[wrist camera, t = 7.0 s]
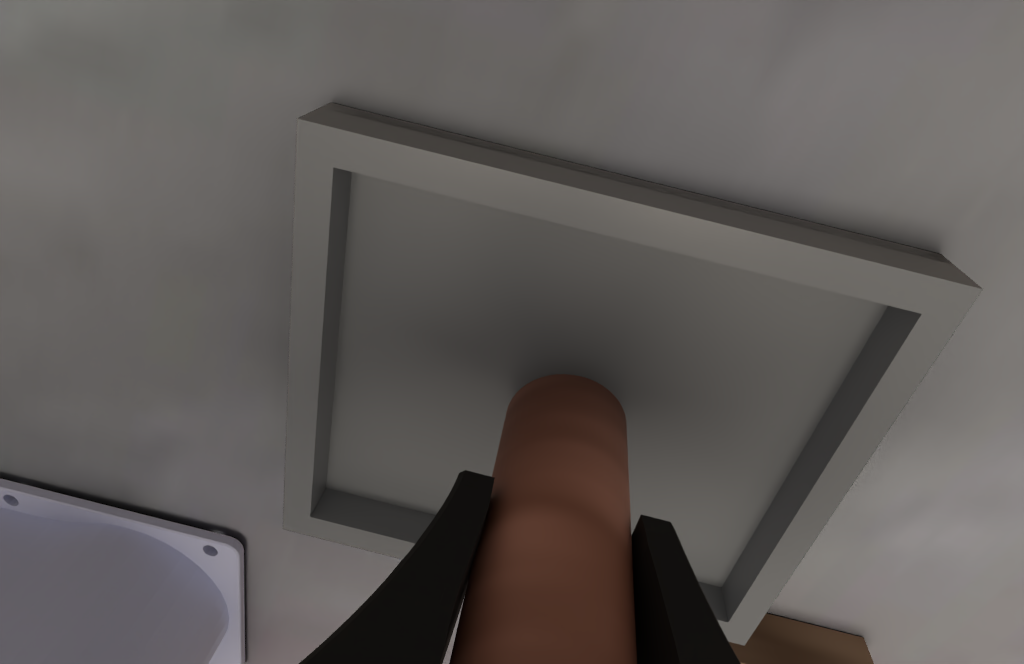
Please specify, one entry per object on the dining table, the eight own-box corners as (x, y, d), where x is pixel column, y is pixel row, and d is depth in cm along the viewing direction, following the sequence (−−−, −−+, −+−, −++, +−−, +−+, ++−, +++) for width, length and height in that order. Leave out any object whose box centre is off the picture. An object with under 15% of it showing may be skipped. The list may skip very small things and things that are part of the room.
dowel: (495, 454, 17) (397, 880, 9) (520, 360, 15) (427, 777, 7) (607, 482, 16) (607, 934, 9) (642, 391, 15) (681, 841, 7)
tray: (307, 486, 20) (282, 529, 19) (330, 102, 14) (297, 118, 13) (733, 593, 20) (744, 645, 19) (941, 254, 14) (982, 288, 12)
